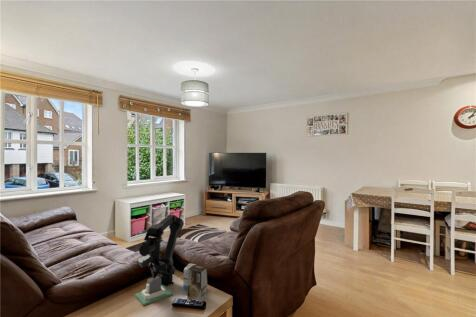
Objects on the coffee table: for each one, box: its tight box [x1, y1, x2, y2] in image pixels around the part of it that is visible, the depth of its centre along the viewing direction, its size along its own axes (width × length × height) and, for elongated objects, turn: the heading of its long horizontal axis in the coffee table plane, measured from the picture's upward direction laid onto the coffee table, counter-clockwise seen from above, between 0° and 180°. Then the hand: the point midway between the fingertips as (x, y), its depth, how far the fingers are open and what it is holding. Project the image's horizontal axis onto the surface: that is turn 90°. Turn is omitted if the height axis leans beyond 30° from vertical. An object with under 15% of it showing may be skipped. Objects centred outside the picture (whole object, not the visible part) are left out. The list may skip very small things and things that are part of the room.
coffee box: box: [186, 264, 208, 302], centre depth 132 cm, size 9×6×16 cm
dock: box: [134, 285, 173, 307], centre depth 133 cm, size 16×12×3 cm
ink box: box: [182, 263, 197, 291], centre depth 143 cm, size 8×5×12 cm, turn 168°
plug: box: [145, 275, 161, 294], centre depth 133 cm, size 7×4×8 cm, turn 131°
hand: (154, 277), depth 133 cm, fingers closed
